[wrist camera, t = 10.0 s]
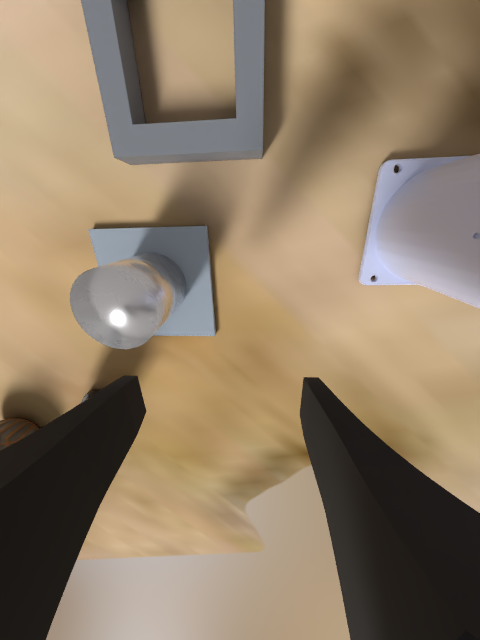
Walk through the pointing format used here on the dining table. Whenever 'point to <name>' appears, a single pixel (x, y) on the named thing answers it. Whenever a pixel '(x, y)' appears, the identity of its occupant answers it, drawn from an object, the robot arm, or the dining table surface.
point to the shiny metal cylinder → (127, 299)
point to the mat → (186, 251)
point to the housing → (176, 137)
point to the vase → (15, 431)
